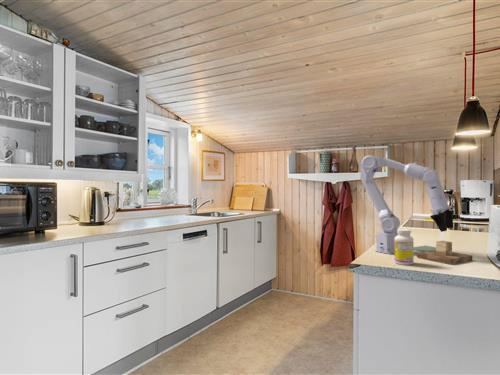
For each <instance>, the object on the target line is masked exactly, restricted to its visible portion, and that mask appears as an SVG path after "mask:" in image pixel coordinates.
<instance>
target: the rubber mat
mask: <svg viewBox="0 0 500 375" xmlns="http://www.w3.org/2000/svg"><path fill="white" fill-rule="evenodd" d="M413 250H414V251H418V252H426V251H432V250H436V246H429V245H420V246H413Z"/></svg>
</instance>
